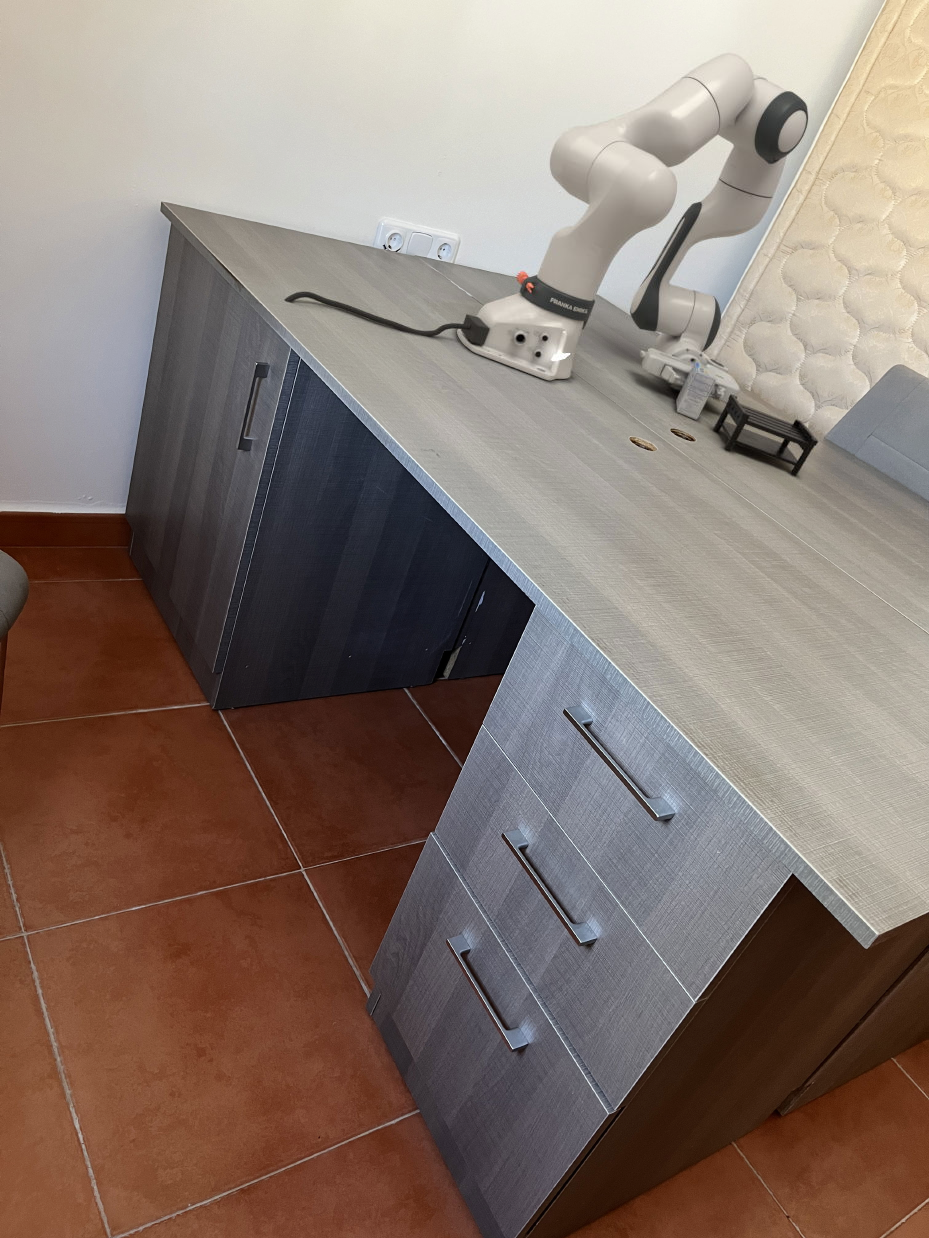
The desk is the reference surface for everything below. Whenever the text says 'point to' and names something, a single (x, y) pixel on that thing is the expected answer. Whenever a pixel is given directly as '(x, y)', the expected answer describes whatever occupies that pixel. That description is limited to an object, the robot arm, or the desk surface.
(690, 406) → the medicine box
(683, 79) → the robot arm
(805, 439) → the rack
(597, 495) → the desk surface
